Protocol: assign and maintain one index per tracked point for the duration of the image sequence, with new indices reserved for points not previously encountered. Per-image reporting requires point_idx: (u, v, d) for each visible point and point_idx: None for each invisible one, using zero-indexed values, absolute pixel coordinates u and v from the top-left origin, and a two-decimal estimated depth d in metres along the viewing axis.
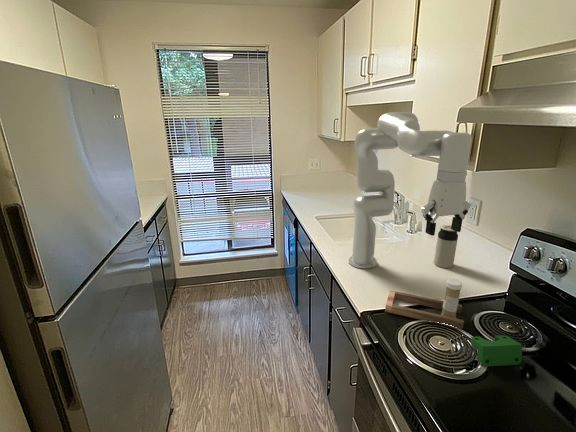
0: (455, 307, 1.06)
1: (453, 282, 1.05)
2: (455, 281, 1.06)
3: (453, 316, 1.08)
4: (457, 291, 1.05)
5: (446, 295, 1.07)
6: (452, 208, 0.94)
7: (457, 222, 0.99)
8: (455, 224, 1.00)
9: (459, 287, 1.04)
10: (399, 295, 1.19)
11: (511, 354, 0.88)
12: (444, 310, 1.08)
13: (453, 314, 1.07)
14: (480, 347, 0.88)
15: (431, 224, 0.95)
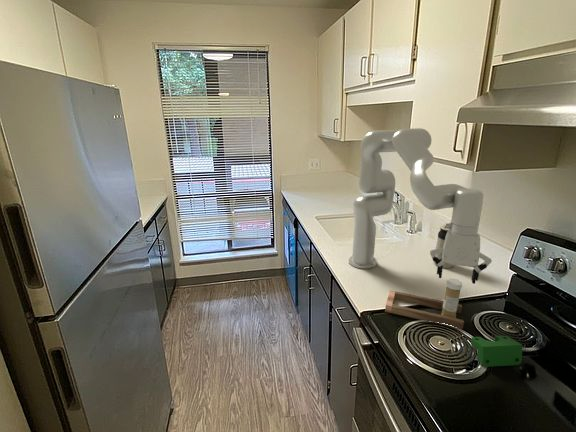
0: (455, 307, 1.06)
1: (453, 282, 1.05)
2: (455, 281, 1.06)
3: (453, 316, 1.08)
4: (457, 291, 1.05)
5: (446, 295, 1.07)
6: None
7: None
8: None
9: (459, 287, 1.04)
10: (399, 295, 1.19)
11: (512, 354, 0.88)
12: (444, 310, 1.08)
13: (453, 314, 1.07)
14: (480, 348, 0.88)
15: None
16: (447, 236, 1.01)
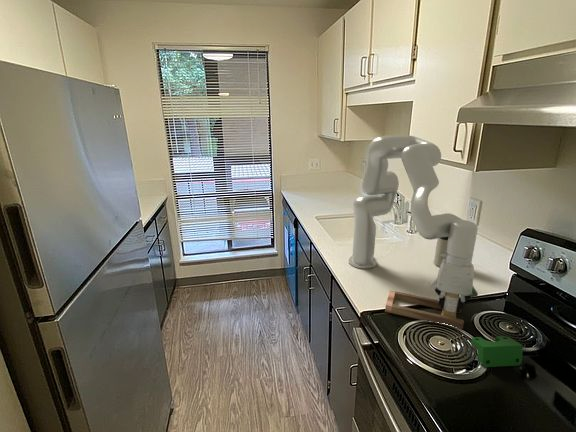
0: (455, 307, 1.06)
1: None
2: None
3: (453, 316, 1.08)
4: None
5: (446, 295, 1.07)
6: None
7: None
8: None
9: None
10: (399, 295, 1.19)
11: (512, 355, 0.88)
12: (444, 310, 1.08)
13: (453, 314, 1.07)
14: (480, 348, 0.88)
15: None
16: (442, 265, 1.04)
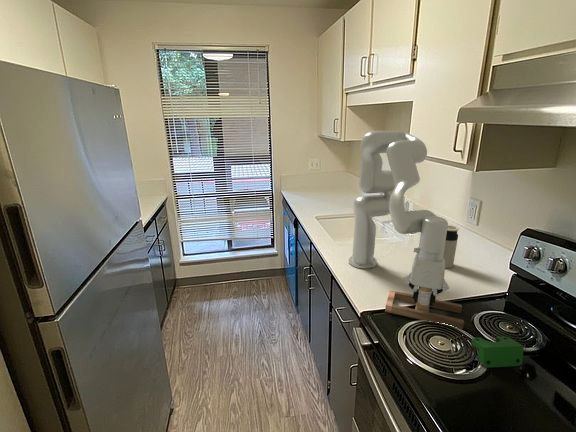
0: (428, 301, 1.10)
1: None
2: None
3: (426, 309, 1.11)
4: None
5: (419, 289, 1.10)
6: None
7: (417, 292, 1.13)
8: None
9: None
10: (399, 295, 1.19)
11: (513, 355, 0.88)
12: (418, 304, 1.12)
13: (426, 307, 1.11)
14: (481, 348, 0.88)
15: None
16: (415, 260, 1.07)
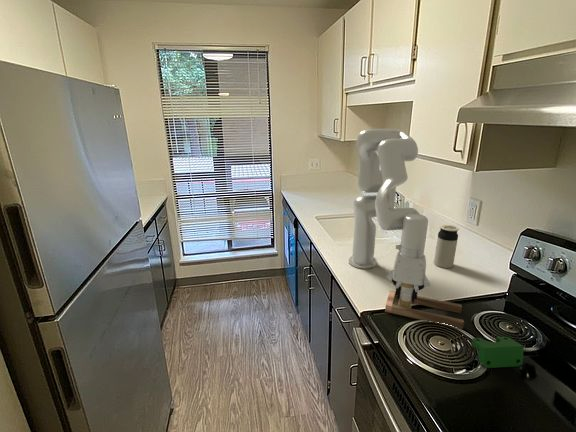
0: (410, 297, 1.12)
1: None
2: None
3: (408, 305, 1.13)
4: None
5: (401, 285, 1.12)
6: None
7: None
8: None
9: None
10: None
11: (513, 355, 0.88)
12: (400, 300, 1.14)
13: (408, 303, 1.13)
14: (481, 349, 0.88)
15: None
16: (396, 257, 1.10)
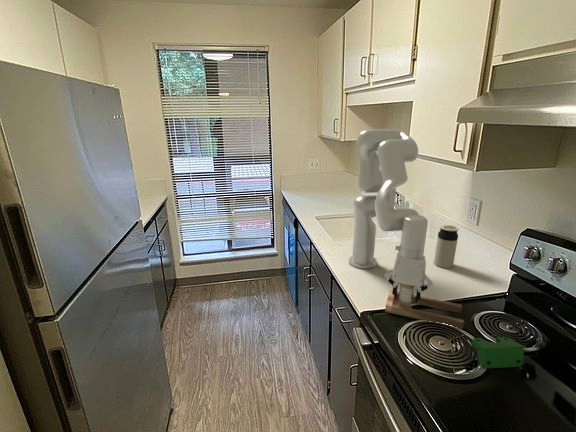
0: (409, 297, 1.12)
1: None
2: None
3: (408, 306, 1.13)
4: None
5: (401, 286, 1.12)
6: None
7: (397, 288, 1.15)
8: None
9: None
10: None
11: (513, 356, 0.87)
12: (400, 301, 1.14)
13: (408, 304, 1.13)
14: (481, 349, 0.88)
15: None
16: (396, 258, 1.10)
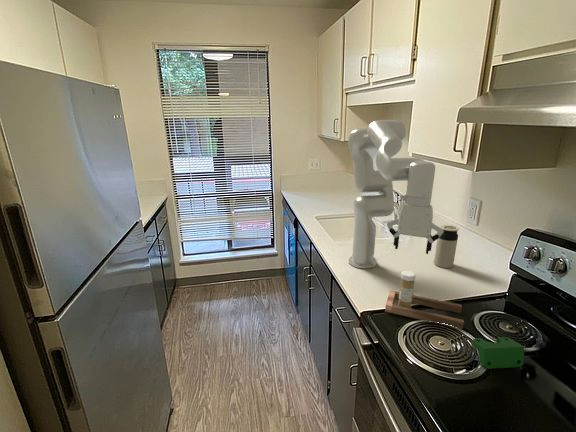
0: (409, 298, 1.12)
1: (407, 274, 1.11)
2: (409, 273, 1.11)
3: (408, 306, 1.13)
4: (411, 282, 1.10)
5: (401, 286, 1.12)
6: None
7: (398, 239, 1.10)
8: (398, 242, 1.10)
9: (412, 278, 1.10)
10: None
11: (513, 356, 0.87)
12: (400, 301, 1.14)
13: (408, 304, 1.13)
14: (482, 349, 0.88)
15: None
16: (402, 207, 1.04)
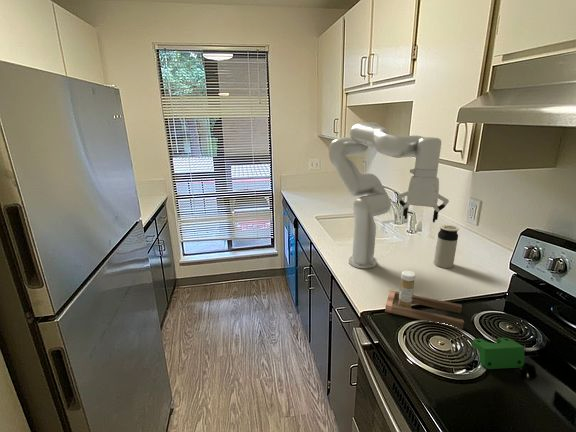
0: (409, 298, 1.12)
1: (407, 274, 1.11)
2: (409, 273, 1.11)
3: (408, 306, 1.13)
4: (411, 282, 1.10)
5: (401, 286, 1.12)
6: None
7: (407, 210, 1.21)
8: (407, 213, 1.21)
9: (412, 278, 1.10)
10: None
11: (514, 357, 0.87)
12: (400, 301, 1.14)
13: (408, 304, 1.13)
14: (482, 350, 0.87)
15: None
16: (411, 180, 1.15)
